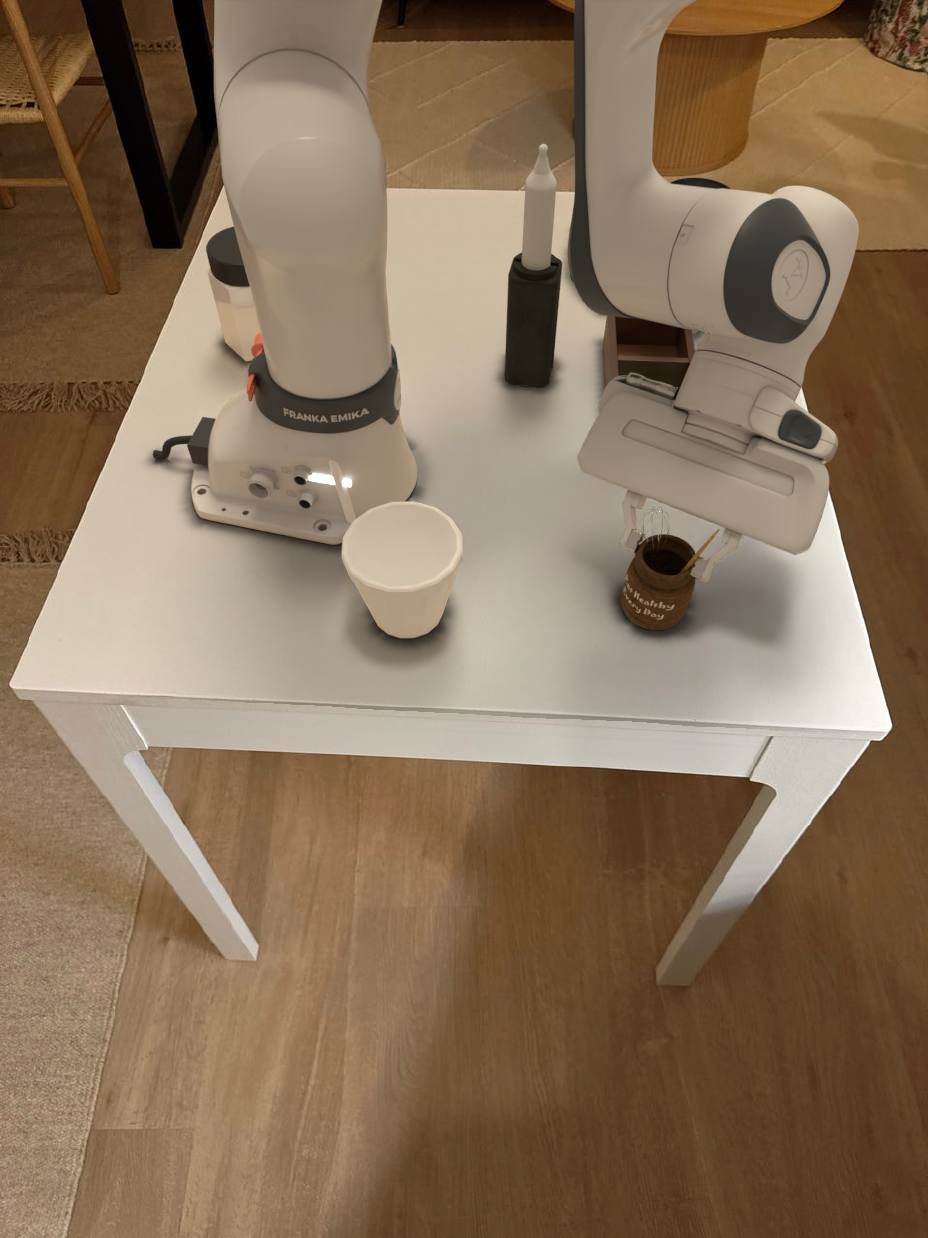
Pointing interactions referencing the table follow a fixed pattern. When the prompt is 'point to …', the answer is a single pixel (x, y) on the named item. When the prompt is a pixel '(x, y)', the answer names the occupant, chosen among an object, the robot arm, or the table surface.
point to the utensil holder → (660, 580)
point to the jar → (232, 293)
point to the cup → (403, 565)
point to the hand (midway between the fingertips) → (663, 564)
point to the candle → (534, 285)
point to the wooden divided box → (646, 350)
